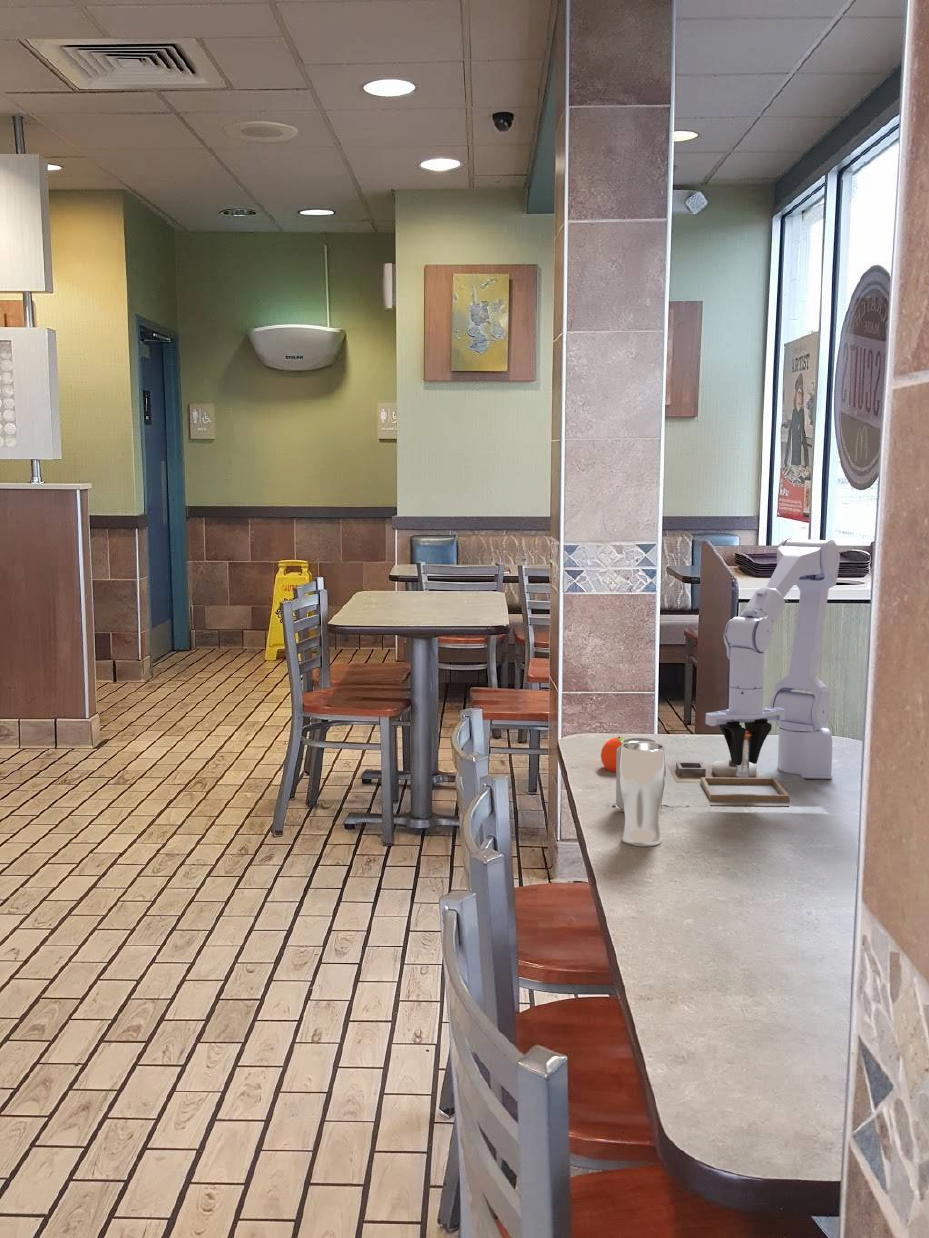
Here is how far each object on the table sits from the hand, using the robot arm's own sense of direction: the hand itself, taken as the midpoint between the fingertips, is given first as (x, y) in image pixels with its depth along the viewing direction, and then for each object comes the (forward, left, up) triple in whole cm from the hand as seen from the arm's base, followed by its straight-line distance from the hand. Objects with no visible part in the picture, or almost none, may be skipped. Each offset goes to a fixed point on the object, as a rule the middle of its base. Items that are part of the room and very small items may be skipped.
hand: (744, 763), depth 195 cm
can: (+19, +8, -6) cm, 22 cm away
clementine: (+20, -15, -6) cm, 26 cm away
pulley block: (+3, -12, -6) cm, 14 cm away
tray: (0, 0, -6) cm, 6 cm away
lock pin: (0, 0, -2) cm, 2 cm away
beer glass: (+20, +24, -6) cm, 32 cm away
